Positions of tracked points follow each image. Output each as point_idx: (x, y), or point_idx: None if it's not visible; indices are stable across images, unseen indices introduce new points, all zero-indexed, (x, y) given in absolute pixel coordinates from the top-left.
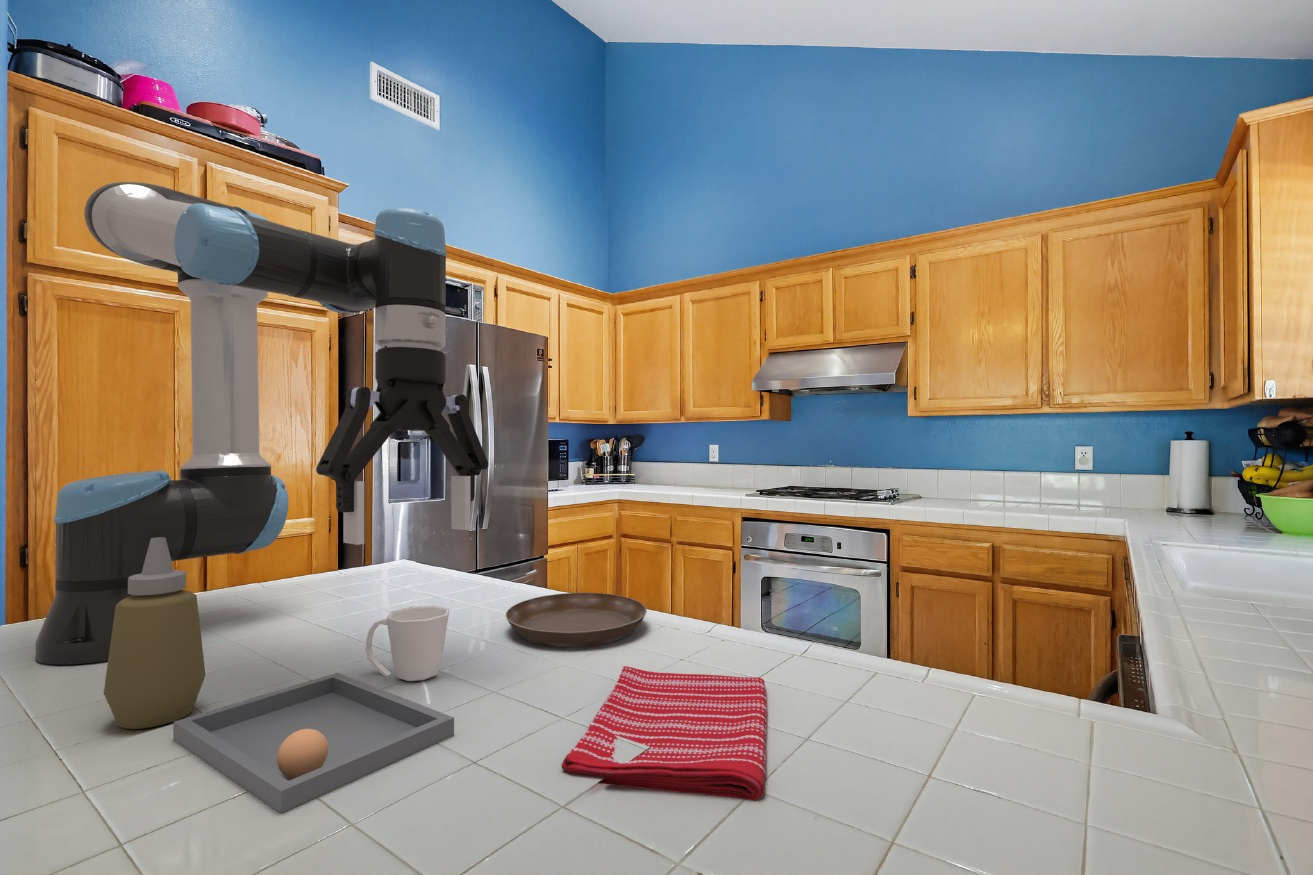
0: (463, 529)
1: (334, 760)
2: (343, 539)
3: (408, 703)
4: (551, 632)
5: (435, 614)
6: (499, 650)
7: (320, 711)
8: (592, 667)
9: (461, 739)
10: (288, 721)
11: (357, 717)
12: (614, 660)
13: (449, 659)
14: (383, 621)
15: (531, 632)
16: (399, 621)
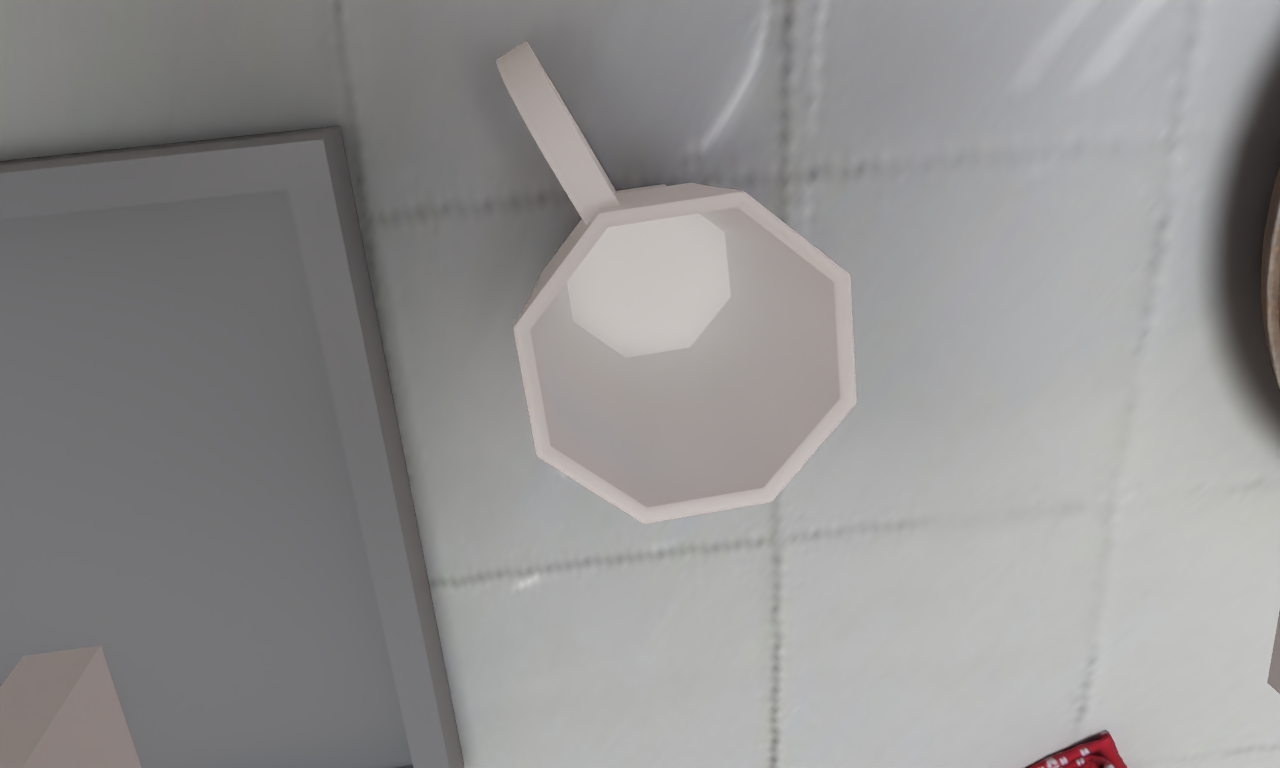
0: (1275, 658)
1: (136, 712)
2: (9, 675)
3: (406, 653)
4: (1276, 379)
5: (820, 298)
6: (1118, 159)
7: (200, 341)
8: (1142, 594)
9: (494, 753)
10: (77, 348)
11: (290, 488)
12: (1241, 595)
13: (903, 86)
14: (559, 180)
15: (1264, 264)
16: (535, 439)
